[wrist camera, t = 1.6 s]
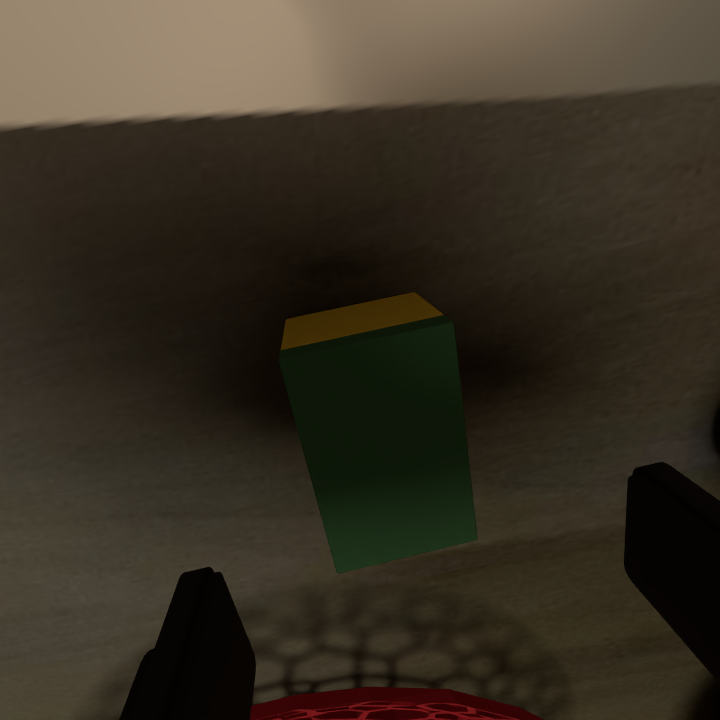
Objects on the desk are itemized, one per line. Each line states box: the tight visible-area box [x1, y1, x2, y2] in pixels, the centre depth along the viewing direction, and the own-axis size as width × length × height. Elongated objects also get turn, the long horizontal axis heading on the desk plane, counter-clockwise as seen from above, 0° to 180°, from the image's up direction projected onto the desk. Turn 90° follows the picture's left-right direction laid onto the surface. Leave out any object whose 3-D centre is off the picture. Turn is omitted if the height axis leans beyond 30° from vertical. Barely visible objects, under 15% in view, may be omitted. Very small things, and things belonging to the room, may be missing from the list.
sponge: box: [279, 292, 477, 574], centre depth 15 cm, size 8×5×4 cm, turn 11°
